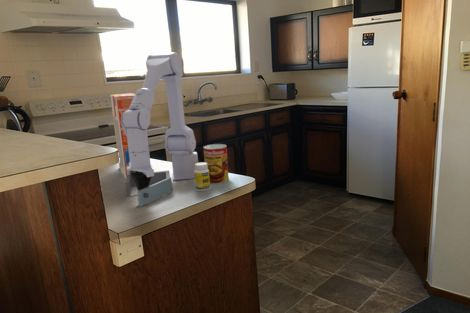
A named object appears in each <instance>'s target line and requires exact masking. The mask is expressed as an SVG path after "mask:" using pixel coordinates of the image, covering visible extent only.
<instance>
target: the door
mask: <svg viewBox="0 0 470 313" xmlns="http://www.w3.org/2000/svg"><path fill="white" fill-rule="evenodd" d="M172 192H173V179H172V176H170V177H169V178H167V179H165V180H162V181H160V182H157V183H155V184H153V185H150V186H148V187H146V188H143V189H141V190H139V191H137V193H138V195H137V200H138V206H139V207H143V206H145V205H147V204H149V203H152V202H153V201H155V200H158V199H160V198H161V197H164V196H165V195H168V194H170V193H172Z"/></svg>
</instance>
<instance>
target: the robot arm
mask: <svg viewBox="0 0 470 313" xmlns="http://www.w3.org/2000/svg"><path fill="white" fill-rule="evenodd" d="M145 65H146V70H147V71H146V74H145V77H144V81H143V84H142V87H141V88H138V89H137V90H136V91H135V93H134V94H135V96H134V98H133V100H132V103H131V105H130V107H129V110H127V111H125V112H124V113H123V114H122V117H121V125H122V127H123V129H124V132H125V135H126V136H127V140H128V149H129V157H130V162H129V167H127V170H128V171H131V170H132V171H136V172H135V173H131V174H130V175H131V177H132V178H133V180H134V181H135V184H136V186H137V189H138V191H139V190H141V189H143V188H146V187H148V186H149V183H150V180H151V177H152V176H154V172H155V170H154V168H153V165H152V164H151V157H150V148H149V137H148V130H147V129H148V128H149V127H150V125H151V111H152V110H151V109H152V107H153V105H154V103H155V99H156V96H155V94H154V92H155V90H156V88H157V86H158V85H159V82H160V81H161V80H163V81H164V82H165V89H166V91H165V92H166V99H167V105H168V106H167V107H168V116H169V125H170V128H168V129H167V130H166V132H165V136H164V137H165V140H164V146H165V149H166V151H167V152H168V154H170V155H171V164H172V165H171V166H172V173H171V179H172V181H182V180H187V179H188V180H190V179H195V175H194V171H195V170H196V169H195V164H196V163H199V157H198V152H197V151H195V149H196V147H197V141H196V137H195V132H194V130H193V129H192V128H190V127H189V126H187V125H186V120H185V112H184V111H185V110H184V103H183V92H182V83H181V82H182V81H181V78H182V77H183V76H184V74H183V72H184V71H183V63H182V58H181V56H180V55H179V53H178V52H175V51H173V52H165V53H150V54H148V56H147V58H146V61H145Z"/></svg>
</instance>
